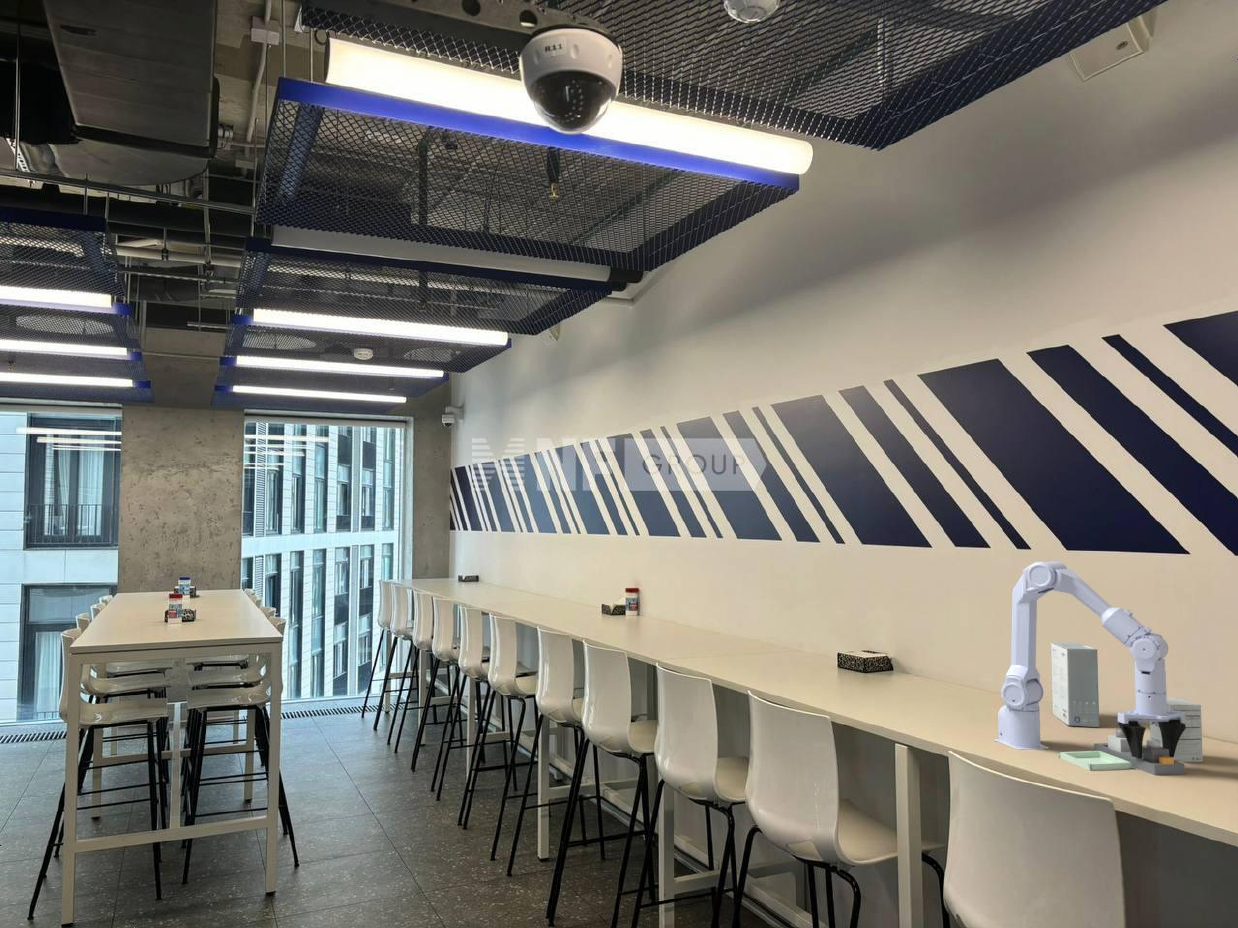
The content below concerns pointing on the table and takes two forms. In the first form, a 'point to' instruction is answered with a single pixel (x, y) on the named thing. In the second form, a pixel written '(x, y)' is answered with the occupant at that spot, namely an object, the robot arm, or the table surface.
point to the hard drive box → (1075, 684)
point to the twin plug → (1118, 742)
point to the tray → (1095, 760)
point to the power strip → (1162, 768)
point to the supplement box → (1192, 735)
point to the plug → (1153, 751)
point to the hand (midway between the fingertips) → (1152, 756)
